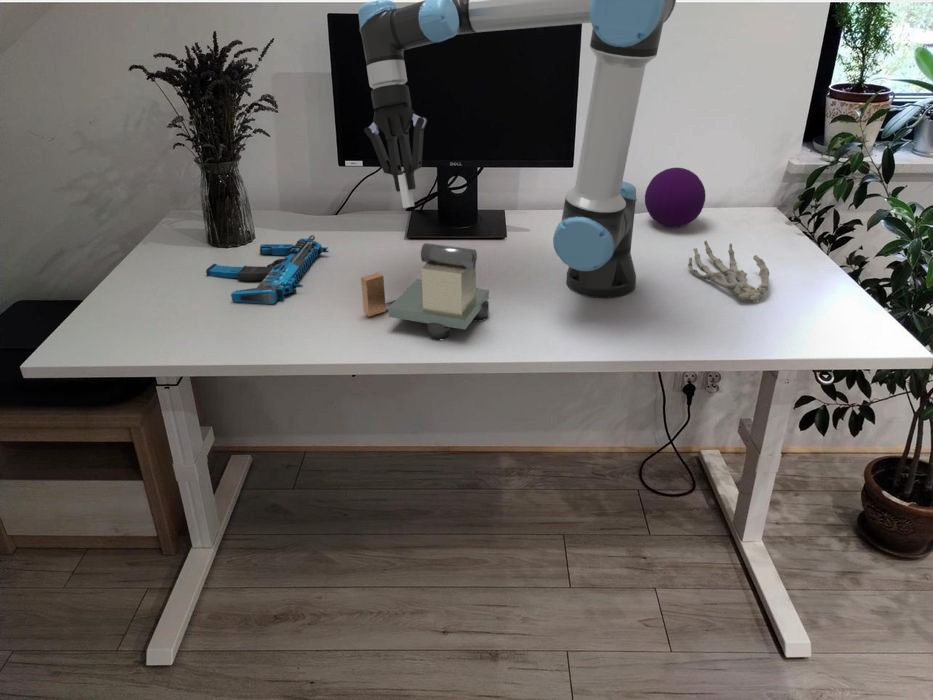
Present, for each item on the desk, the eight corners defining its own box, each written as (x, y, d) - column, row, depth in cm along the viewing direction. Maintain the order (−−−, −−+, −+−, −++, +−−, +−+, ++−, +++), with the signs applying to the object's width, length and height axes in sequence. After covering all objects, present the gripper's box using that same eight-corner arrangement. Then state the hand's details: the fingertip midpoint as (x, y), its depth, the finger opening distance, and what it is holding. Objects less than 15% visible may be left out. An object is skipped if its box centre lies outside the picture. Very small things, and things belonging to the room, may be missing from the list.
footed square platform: (491, 312, 163) (492, 233, 154) (467, 345, 151) (466, 262, 142) (417, 300, 168) (414, 223, 159) (388, 331, 156) (382, 250, 148)
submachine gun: (241, 231, 198) (337, 229, 194) (244, 245, 200) (339, 244, 196) (180, 289, 168) (292, 289, 165) (184, 305, 170) (295, 306, 167)
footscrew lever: (420, 292, 171) (419, 257, 167) (432, 299, 167) (431, 264, 163) (360, 311, 163) (357, 275, 159) (372, 319, 160) (369, 282, 156)
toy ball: (679, 241, 196) (686, 182, 188) (630, 225, 205) (635, 168, 198) (712, 225, 204) (721, 168, 197) (664, 211, 214) (670, 156, 206)
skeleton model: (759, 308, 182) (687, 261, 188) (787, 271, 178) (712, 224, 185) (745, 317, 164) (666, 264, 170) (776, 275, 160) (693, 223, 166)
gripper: (426, 82, 157) (444, 201, 161) (366, 94, 161) (386, 210, 165) (413, 78, 150) (432, 203, 154) (351, 91, 154) (372, 212, 158)
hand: (408, 206), depth 160 cm, fingers closed
